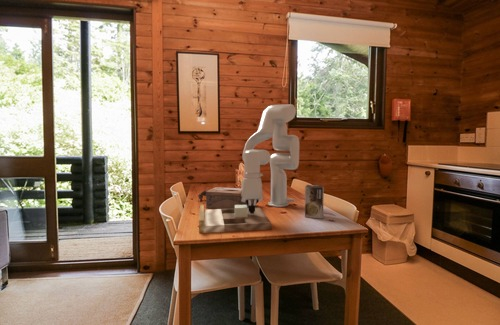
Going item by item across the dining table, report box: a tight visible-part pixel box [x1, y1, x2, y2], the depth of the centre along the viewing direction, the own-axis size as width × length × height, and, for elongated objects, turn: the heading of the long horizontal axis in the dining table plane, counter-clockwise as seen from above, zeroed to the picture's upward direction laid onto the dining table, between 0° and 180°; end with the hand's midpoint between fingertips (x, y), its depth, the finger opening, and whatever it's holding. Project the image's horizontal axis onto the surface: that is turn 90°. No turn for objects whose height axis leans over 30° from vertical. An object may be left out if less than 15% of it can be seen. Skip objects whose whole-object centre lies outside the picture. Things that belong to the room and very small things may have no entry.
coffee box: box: [304, 184, 325, 219], centre depth 145 cm, size 9×6×16 cm
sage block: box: [235, 205, 247, 217], centre depth 137 cm, size 6×6×4 cm
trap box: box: [198, 204, 272, 234], centre depth 136 cm, size 32×27×6 cm
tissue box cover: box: [205, 186, 253, 209], centre depth 166 cm, size 26×14×10 cm, turn 75°
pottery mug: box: [197, 189, 209, 201], centre depth 181 cm, size 12×10×8 cm
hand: (251, 212), depth 137 cm, fingers closed
